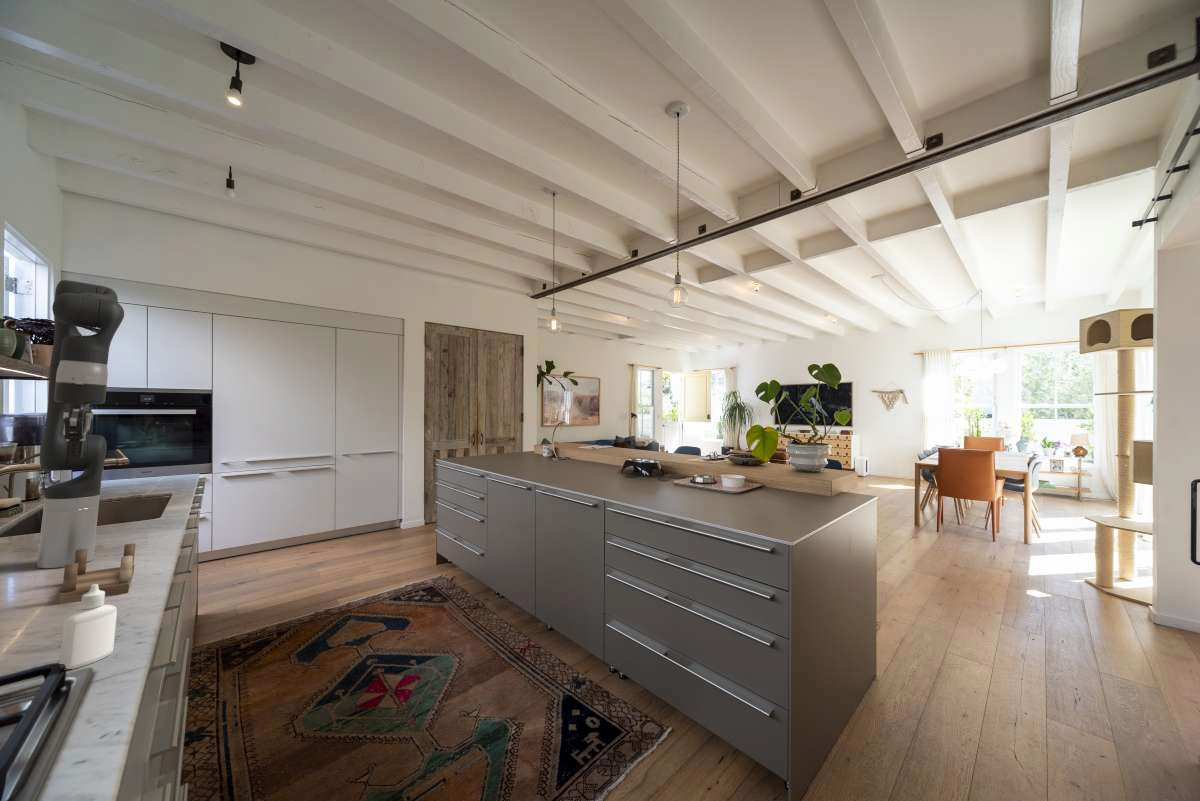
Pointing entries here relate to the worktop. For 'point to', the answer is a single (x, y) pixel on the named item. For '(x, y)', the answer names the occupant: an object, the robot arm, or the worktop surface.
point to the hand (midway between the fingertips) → (73, 458)
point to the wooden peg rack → (92, 578)
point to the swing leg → (126, 568)
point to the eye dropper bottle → (89, 631)
